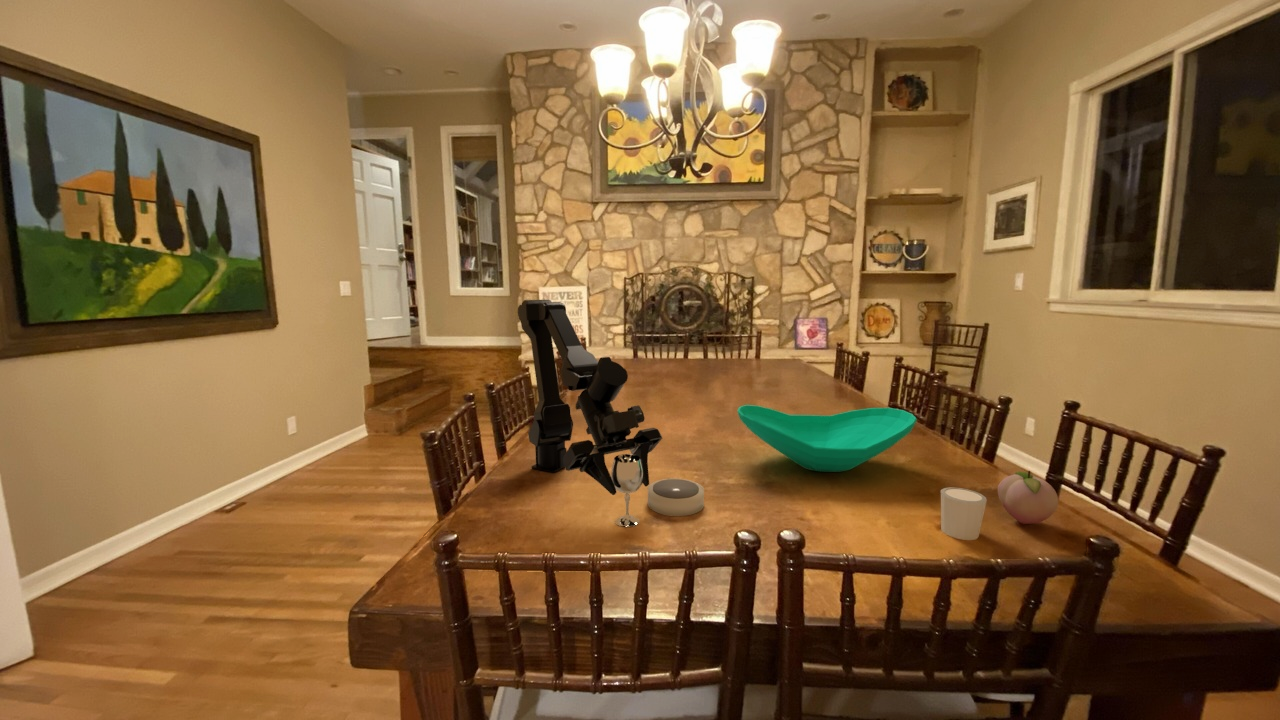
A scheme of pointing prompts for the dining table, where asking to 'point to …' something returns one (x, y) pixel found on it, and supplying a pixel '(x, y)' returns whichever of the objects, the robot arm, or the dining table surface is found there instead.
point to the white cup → (962, 512)
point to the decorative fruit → (1027, 497)
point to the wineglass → (627, 482)
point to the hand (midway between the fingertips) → (631, 489)
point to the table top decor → (829, 435)
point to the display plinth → (675, 497)
